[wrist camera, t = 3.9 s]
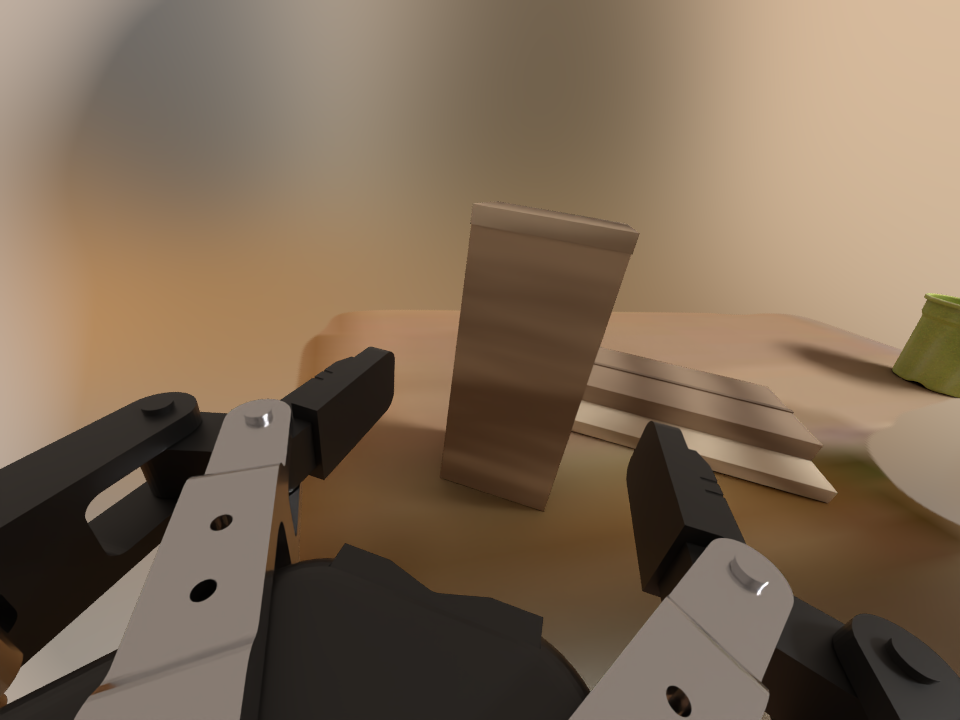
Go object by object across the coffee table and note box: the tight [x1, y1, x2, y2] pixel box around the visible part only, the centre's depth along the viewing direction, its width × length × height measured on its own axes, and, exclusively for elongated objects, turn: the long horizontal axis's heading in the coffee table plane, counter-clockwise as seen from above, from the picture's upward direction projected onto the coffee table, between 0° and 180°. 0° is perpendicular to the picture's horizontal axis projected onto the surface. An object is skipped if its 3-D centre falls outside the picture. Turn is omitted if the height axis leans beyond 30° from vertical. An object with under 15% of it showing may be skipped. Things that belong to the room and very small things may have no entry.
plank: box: [440, 201, 639, 511], centre depth 15 cm, size 4×5×12 cm
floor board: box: [571, 347, 837, 503], centre depth 24 cm, size 18×10×2 cm, turn 75°
